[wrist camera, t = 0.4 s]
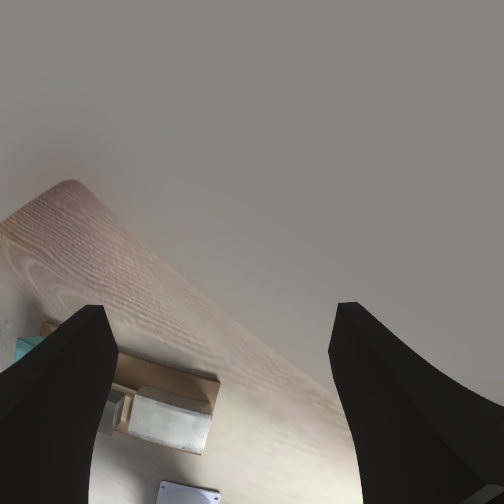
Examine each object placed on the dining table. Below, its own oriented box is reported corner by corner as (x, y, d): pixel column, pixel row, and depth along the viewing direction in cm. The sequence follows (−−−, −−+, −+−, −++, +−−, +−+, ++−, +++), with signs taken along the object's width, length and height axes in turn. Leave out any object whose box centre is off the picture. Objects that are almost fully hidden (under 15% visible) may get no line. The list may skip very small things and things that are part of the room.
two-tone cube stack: (198, 435, 30) (198, 461, 23) (84, 397, 29) (61, 414, 22) (205, 408, 31) (206, 430, 24) (89, 370, 29) (65, 382, 23)
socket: (51, 389, 29) (31, 399, 23) (33, 379, 28) (11, 387, 23) (59, 344, 30) (37, 348, 25) (40, 335, 30) (17, 337, 24)
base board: (200, 451, 31) (200, 455, 30) (35, 390, 29) (31, 392, 28) (219, 381, 34) (220, 383, 33) (47, 321, 31) (43, 321, 30)
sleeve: (201, 437, 31) (201, 454, 26) (135, 419, 30) (127, 433, 25) (210, 402, 32) (212, 416, 27) (143, 383, 31) (135, 394, 26)
